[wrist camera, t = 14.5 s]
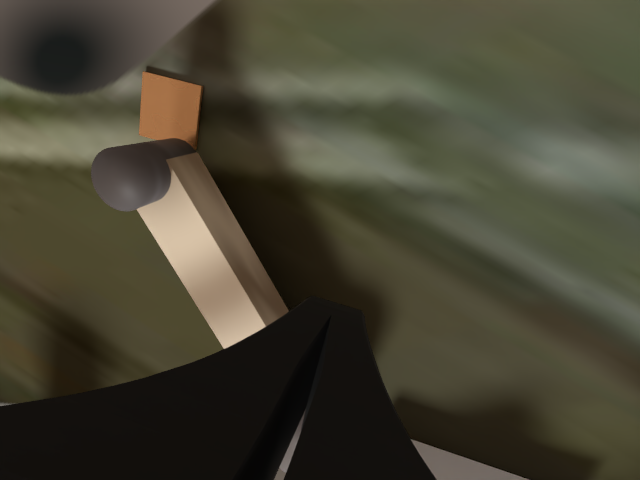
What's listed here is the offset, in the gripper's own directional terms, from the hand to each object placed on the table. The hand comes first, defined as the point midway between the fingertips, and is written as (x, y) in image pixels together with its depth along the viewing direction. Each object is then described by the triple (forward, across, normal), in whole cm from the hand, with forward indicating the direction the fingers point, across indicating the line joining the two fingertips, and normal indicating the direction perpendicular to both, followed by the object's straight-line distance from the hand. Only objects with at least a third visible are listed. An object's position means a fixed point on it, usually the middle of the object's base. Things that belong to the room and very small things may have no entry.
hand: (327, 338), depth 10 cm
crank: (+10, +4, +5) cm, 12 cm away
